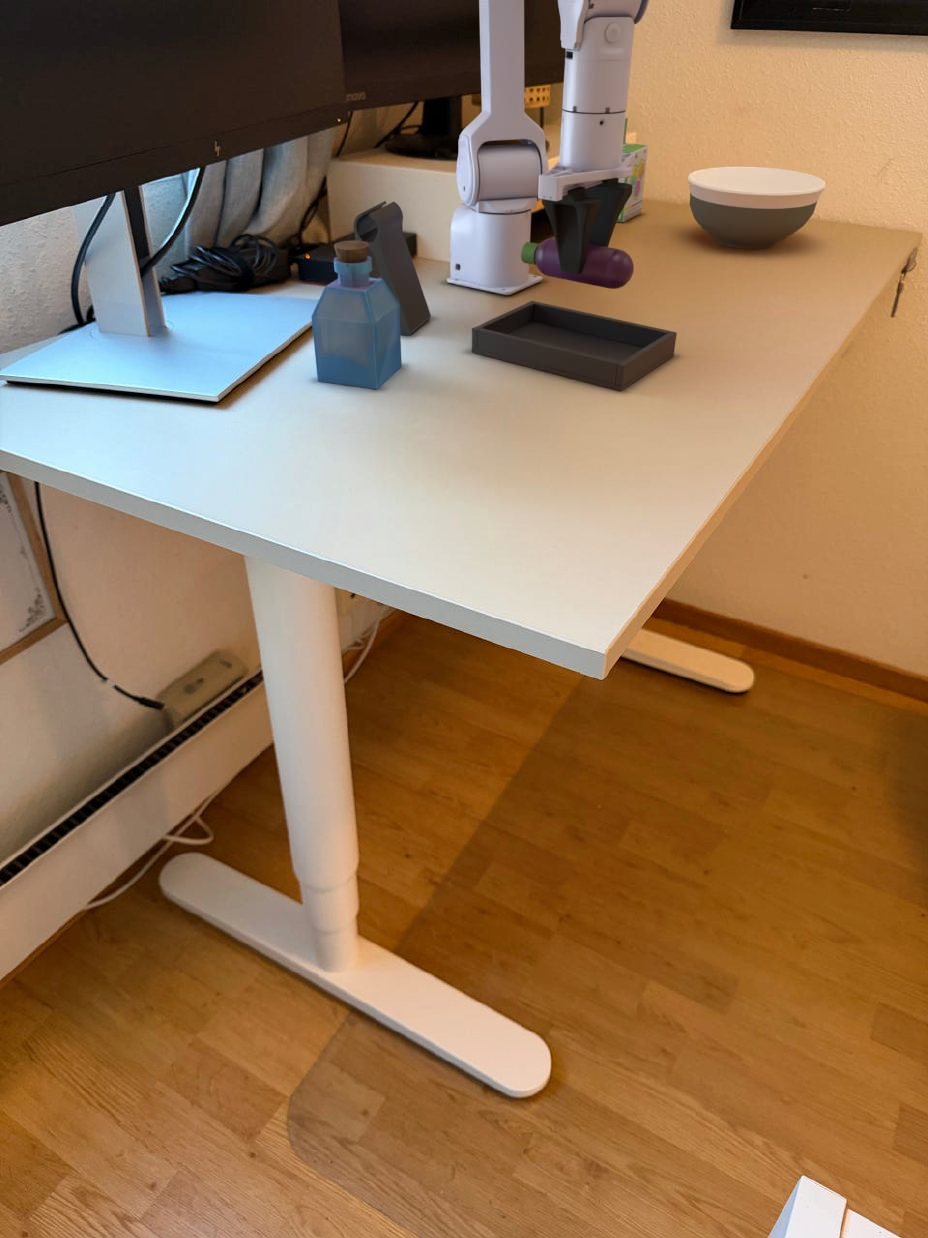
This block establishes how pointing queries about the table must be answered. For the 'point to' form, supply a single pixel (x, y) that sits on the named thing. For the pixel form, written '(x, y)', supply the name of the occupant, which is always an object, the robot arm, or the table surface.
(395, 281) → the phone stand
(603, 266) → the eggplant
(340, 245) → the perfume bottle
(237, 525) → the table surface
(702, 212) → the bowl
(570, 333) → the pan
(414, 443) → the table surface
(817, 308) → the table surface
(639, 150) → the green white box
